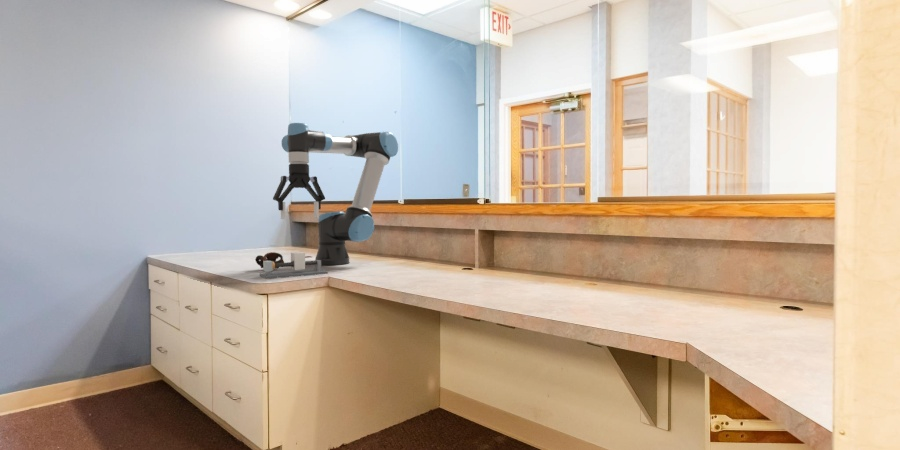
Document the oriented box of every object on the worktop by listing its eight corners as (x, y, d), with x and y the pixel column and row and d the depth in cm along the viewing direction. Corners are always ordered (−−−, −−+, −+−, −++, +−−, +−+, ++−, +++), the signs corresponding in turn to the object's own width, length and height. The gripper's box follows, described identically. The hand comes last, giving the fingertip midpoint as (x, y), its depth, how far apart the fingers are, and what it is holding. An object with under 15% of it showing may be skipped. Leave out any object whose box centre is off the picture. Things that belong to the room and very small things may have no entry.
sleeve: (301, 268, 200) (300, 251, 200) (305, 269, 196) (304, 252, 196) (291, 268, 198) (290, 252, 197) (294, 270, 194) (294, 253, 193)
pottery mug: (286, 269, 217) (288, 253, 212) (278, 282, 208) (279, 266, 204) (258, 262, 216) (259, 246, 212) (249, 274, 208) (250, 258, 204)
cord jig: (318, 270, 207) (318, 256, 206) (327, 273, 199) (327, 258, 198) (259, 275, 193) (259, 260, 193) (267, 278, 185) (267, 262, 185)
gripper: (324, 165, 209) (325, 217, 210) (263, 163, 192) (264, 219, 194) (332, 164, 203) (333, 217, 204) (270, 161, 187) (272, 219, 188)
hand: (300, 218), depth 199 cm, fingers open, 13 cm apart
